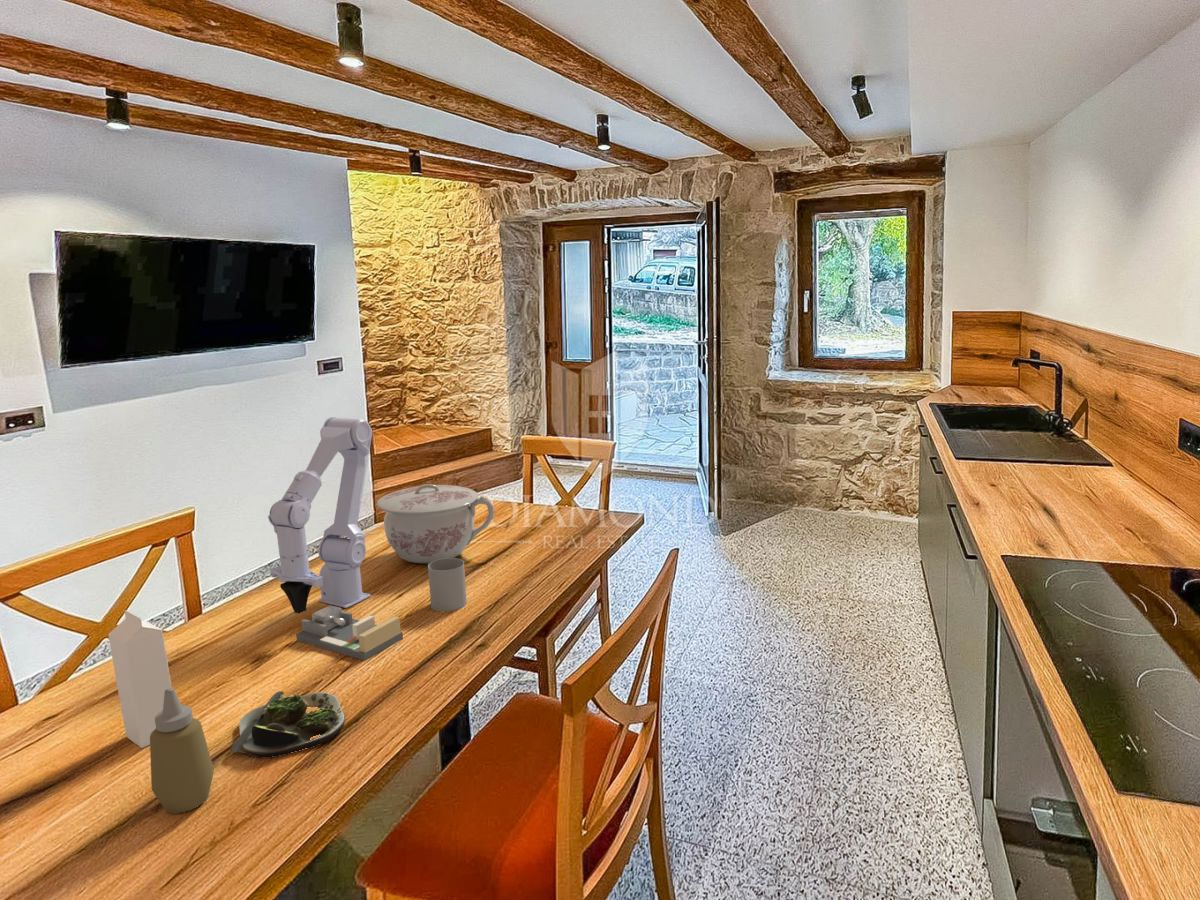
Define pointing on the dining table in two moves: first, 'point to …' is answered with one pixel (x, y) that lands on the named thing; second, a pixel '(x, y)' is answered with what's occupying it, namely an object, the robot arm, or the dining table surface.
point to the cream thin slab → (362, 627)
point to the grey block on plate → (329, 617)
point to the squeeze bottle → (179, 757)
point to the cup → (447, 584)
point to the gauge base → (339, 635)
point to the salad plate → (289, 724)
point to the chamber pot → (432, 521)
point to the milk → (139, 675)
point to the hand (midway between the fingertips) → (300, 611)
